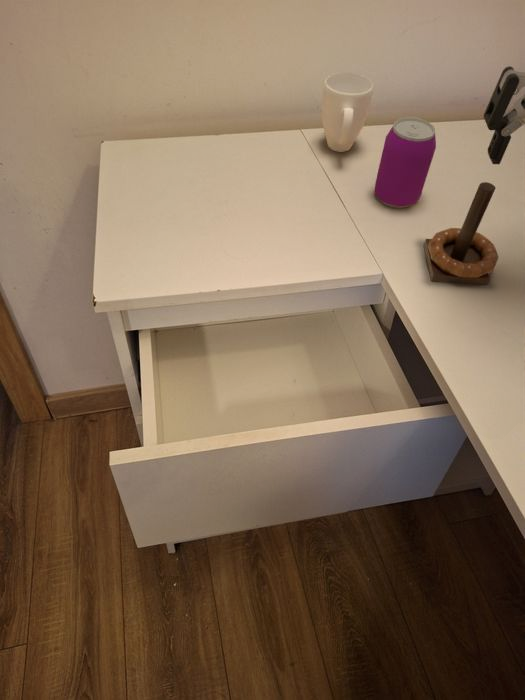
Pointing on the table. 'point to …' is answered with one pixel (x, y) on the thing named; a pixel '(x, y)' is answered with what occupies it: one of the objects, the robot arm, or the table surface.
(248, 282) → the table surface
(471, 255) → the peg stand
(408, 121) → the beverage can
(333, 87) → the mug
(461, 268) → the ring
